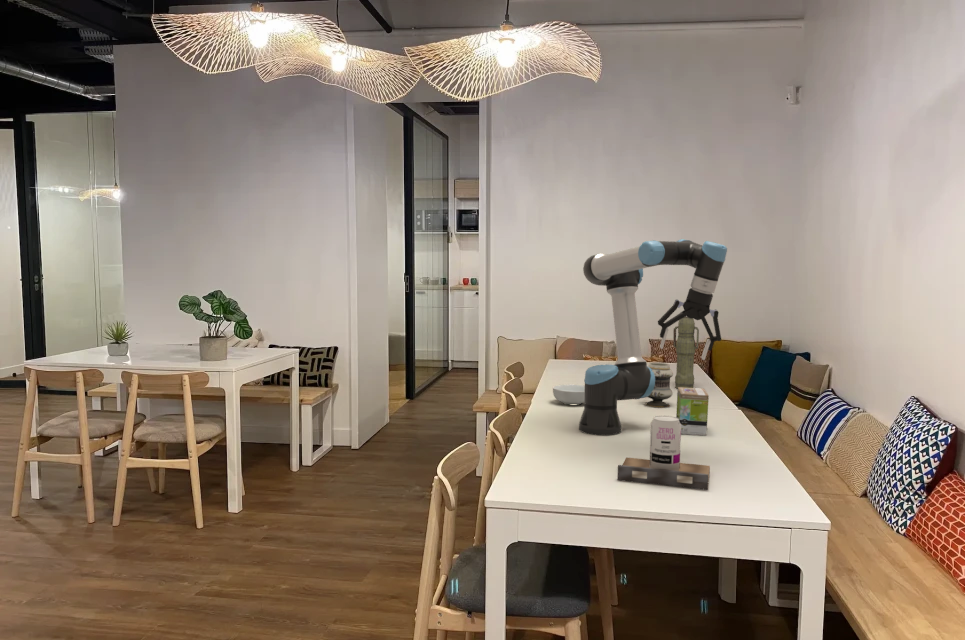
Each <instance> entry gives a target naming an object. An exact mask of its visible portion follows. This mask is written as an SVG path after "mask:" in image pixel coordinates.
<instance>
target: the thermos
mask: <svg viewBox="0 0 965 640" xmlns="http://www.w3.org/2000/svg"><path fill="white" fill-rule="evenodd" d="M695 325H696V322H695V319H694V318H688V317H687V316H686V317H684V318H682V319H680V320H679V321H678V325H677V326H675V327H674V328H673V347H674V348H675V352H676V372H675V377H674V385H675V387H674V389H675V388H676V390H678V387H684V388H694V387H695V386H694V385H695V375H694V366H695V365H694V362H695V361H694V360H695V354H696V350H697V349H699V341H700V340H699V339H700V337H699V335H700V333H699V332H700V329H699V328H698V327H697V326H695ZM695 330H696V340H695ZM677 333H678V335H677Z"/></svg>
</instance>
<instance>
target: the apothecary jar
mask: <svg viewBox="0 0 965 640" xmlns="http://www.w3.org/2000/svg"><path fill="white" fill-rule="evenodd" d="M648 367H650V368H651V369H652V371H653V372H654V375H655V386H654V389H653V391H652V392H651V394H650V395H649V396H648V397H647V398H648V399H651V401H647V402H646V403H645V406H647V407H651V408H658V409H659V408H661V409H662V408H668V407H670V404H668V403H667V401H666V402H665V401H664V400H668V399H670V398H671V397H672V396H673V393H674V392H673V390H672V389H671V378H672V377H673V376H674V372H673V370H672V369H671V368H670V364H669V363H665V362H650V363H649V364H648Z"/></svg>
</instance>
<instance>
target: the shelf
mask: <svg viewBox="0 0 965 640" xmlns="http://www.w3.org/2000/svg"><path fill="white" fill-rule="evenodd" d="M649 466H650V459H645V458H634V457H625V459H624V461H623V463H622V464H618V465H617V481H622V480H625V481H624V482H631V481H633V482H632V483H640V482H641V484H648V485H649V484H650V485H651V484H652V485H660V486H669V487H677V488H687V489H696V490H703V489H704V491H708V489H709V483H708V482H709V479H710V473H711V472H710V470H711V465H707V464H706V465H705V464H697V463H695V464H694V463H688V462H687V463H686V462H680V470H679V471H673V470H664V469H654V468H650V467H649Z"/></svg>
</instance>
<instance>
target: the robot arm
mask: <svg viewBox="0 0 965 640" xmlns="http://www.w3.org/2000/svg"><path fill="white" fill-rule="evenodd" d="M727 253H728V248H727V246H726V245H724V244H722V243H718V242H714V241H709V240H706V241H703V244H701V243H700V244H699V243H696V242H694V241H692V240H688V239H682V238H681V239H678V240H676V241H669V240H668V241H664V240H662V241H661V240H653V239H652V240H646V241H643V242H642V244H640V245H639V246H634V247H630V248H626V249H624V250H623V249H622V250H619V251H615V252H612V253H608V254H607V253H597V254H594V255H590V256H589V257H588V258H587V259H586V260H585V262H584V263H583V268H582V272H583V275H584V277H585V279H586V280H587V281H588V282H589V283H591V284H592V285H596V286H602V287H604V286H605V287H606V293H607V294H609V295H610V297H611V304H612V312H613V325H614V333H615V342H616V343H615V344H616V353H617V360H616V362H615V363H614V364H598V365H592V366H590V367H588V368H587V369H586V370H585V372H584V373H585V374H584V385H585V398H584V405H583V407H584V408H583V411H582V414H581V417H580V419H579V423H578V430H579V431H580V432H582V433H584V432H585V433H584V434H588V433H589V435H595V434H596V435H597V436H610V435H611V436H612V435H617V434H620V433H621V432H622V424H621V420H620V417H619V414H618V401H627V400H629V401H631V400H640V399H644V398H645V399H646V398H648V396H649V395H650V394H651V392H652V391H653V389H654V386H655V375H654V372H653V371H652V369H651V368H650V367H649V366H647V365H648V364H647V360H645V359H644V358H643V357H642V349H641V340H640V331H639V330H640V329H639V321H638V320H639V319H638V311H637V303H636V294H635V293H636V292H637V291H638V290H639V285H640V284H641V283H642V281H643V277H644V269H647V268H651V267H657V266H688V267H691V268H694V273H693V277H692V280H691V283H690V284H689V285H690V288H689V289H688V292H687V295H686V299H685V301H684V302H683V301H681V300H679V299H675V300H674V302H673V303H672V304H673V305H672V306H670V307H669V309H668V310H667V311H665V313H664V314H663V315H662V316H661V317H660V318H659V319H658V320H657V325H658V326H660V327H661V328H660V329H661V330H660V332H659V333H660V334H659V338H661V341H660V344H659V348H660V349H661V350H663V349H664V346H665V343H666V340H667V336H668V333H669V327H671V326H672V325H674V324H676V323H677V322H679V320H680V319H682V318H684V317H688V318H693V319H694V321H695V320H696V321H700V320H701V323H702V324H703V326H704V328H705V330H706V332H707V334H708V336H709V338H706V342H705V345H704V348H703V351H702V355H701V356H700V357H701V360H702V361H706V358H707V353H708V351H712V349H713V347H714V343H715V342H717V341H718V342H721V341H722V336H721V335H722V334H721V330H720V325H719V319H718V318H719V311H718V309H710V307H711V303H712V300H713V297H714V295H713V293H715V290H716V288H717V285H718V281H719V278H720V275H721V272H722V270H723V266H724V264H725V261H726V257H727ZM681 307H682V309H683V310H682V311H680V313H678V314H676V315H675V316H674V317H672V318H670V317H671V315H672V314H674V312H675V311H677V309H678V308H679V309H680V308H681ZM709 314H710V316H711V317H712V321H713V322H712V323H713V326H714V333H715V335H714V334H713V332H712V330H711V328H710V326H709V323H708V321H707V319H706V316H707V315H709ZM668 318H670V319H669V320H667V319H668Z"/></svg>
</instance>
